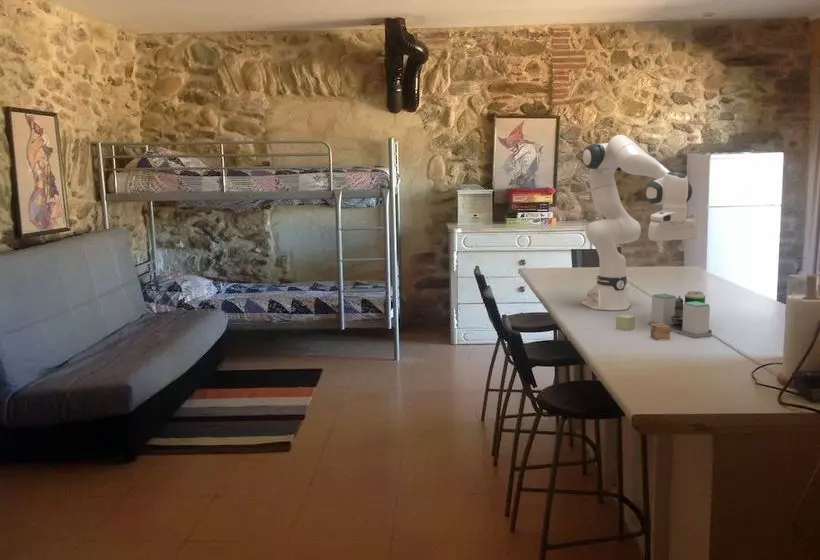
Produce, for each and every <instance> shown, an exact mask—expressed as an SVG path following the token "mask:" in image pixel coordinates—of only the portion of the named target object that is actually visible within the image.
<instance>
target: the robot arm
mask: <svg viewBox="0 0 820 560" xmlns="http://www.w3.org/2000/svg"><path fill="white" fill-rule="evenodd" d="M581 158H582V163H583V165H584V167H585V168H586V169H590V170H589V173H588V174H589V175H588V176H589V177H588V179H589V180H588V181H589V187H590V192H591V197H592V202H593V205H594V208H595V211H597V212H598V213H599V214H602V215H603V217H605V219H599V220H594V221H592V222H590V223H588V225H587V227H586V230H585V236H586V239H587V241H588V242H589V243H590V244H591V245H593V247H594V248H595V250H596V252H597V255H598V260H599V263H598V265H599V275H597V276H595V277H596V278H595V279H596V284H595V285H593V286H592V287H591V288H590V289H589V290H588V291H587V296H586V300H582V301H581V304H582V305H583V306H586V307H588V308H590V309H591V310H599V311H601V310H602V311H625V310H628V309H629V308H630V307H631V303H630V301H629V290H628V289H629V288H628V287H627V283H628V281H627V280H628V279H627V278H628V277H627V274H626V273H627V259H626V256H624V254H621V253H620V252H619V251H618V247H617V245H620V244H629V243H632V242H635V241H637V240H639V238H640V236H641V233H642V228H641V224H640V222H639V221H637V220H636V219H635V218H633V217H632V216H631V215H630V214H629V213H628V212H627V211H626V209H625V208H624V206H623V203H622V201H621V198H620V194H619V191H618V186H617V182H616V179H615V172H616V171H618V172H621V171H623V172H625V173H627V174H629V175H632V176H633V175H634V176H635V175H636V176H644V177H649V178H653V179H654V180H651V181H649V182H648V183H647V185H646V188H645V191H644V192H645V193H644V194H645V198H646V200H647V202H648V203H649V204H651V205H657V206H658V205H660V206H661V205H662V206H661V207H662V208H661V209H662V210H659V211H656V212H655V213H652V214H651V215H650V217H649V218H650V222H649V225H648V233H647V238H648V239H649V241H651V242H656V245H657V248H658V253H665V251H666V248H665V247H663V244H664V241H665V242H666V241H677V240H681V244H680V245H679V246H678V250H679V252H685V251H686V247H687V245H688V243H689V240H693V239H696V238H697V236H698V228H697V217H696V216H695V215H694V214H687V212H688V205H687V203H688V202H689V201H690V200H691V198H692V195H693V186H692V184H691V183H690V181H689V180H688V176H687V174H685V173H683V172H677V171H672V170H671V169H670V168H668V166H666V165H665V164H664V163H663V162H661V161H660V160H658V159H656V158H654V157H653V156H651V155H650V154H649V153H647V152H646V151H644V149H642V148H641V147H640V146H639V145H638V144H637V143H636V142H635V141H634V140H632V139H631V138H630V137H628V136H626V135H624V134H617V135H614V136H613V137H611V138H610V139H609V141H608V142H603V143H593V144H590V145H587V146H586V147H585V148H584V150H583V151H582V156H581Z"/></svg>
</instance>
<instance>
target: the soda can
mask: <svg viewBox="0 0 820 560" xmlns="http://www.w3.org/2000/svg"><path fill="white" fill-rule="evenodd" d="M695 301H697V302H701V303H705V304H706V294H704V293H703V292H701V291H695V290H694V291H692V290H691V291H687V292H686V293H685V294H684V303H685V302H695Z"/></svg>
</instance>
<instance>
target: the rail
mask: <svg viewBox="0 0 820 560" xmlns="http://www.w3.org/2000/svg"><path fill="white" fill-rule="evenodd" d="M647 324H648V325H650V324H660V323H656V322H653V321H651V320H648V323H647ZM673 324H674V323H672V324H666V325H668V326H670V332H673V331H674V332H673V333H676V332H677V333H676V334H679V333H680V335H682V334H683V335H682V336H685V337H689V338H692V337H693V338H692V339H697V338H698V337H699V338H708V337H712V336H713V330H712V329H710V328H709V333H703V334H693V333H689V332H686V331H683V330H682V328H674V327H671V325H673ZM682 325H683V324H682Z"/></svg>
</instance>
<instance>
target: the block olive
mask: <svg viewBox="0 0 820 560" xmlns="http://www.w3.org/2000/svg"><path fill="white" fill-rule="evenodd" d="M615 319H616V320H615V329H616V330H620V329H621V331H625V330H626V332H628V331H631V330H635V329H636V327H635V326H636V316H635V315H629V314H621V315H619V314H618V315H616V317H615Z"/></svg>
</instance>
